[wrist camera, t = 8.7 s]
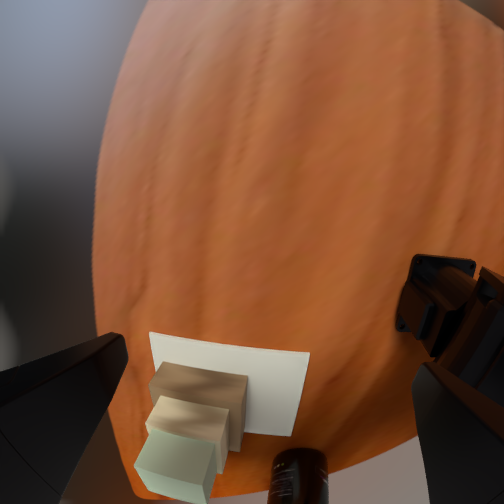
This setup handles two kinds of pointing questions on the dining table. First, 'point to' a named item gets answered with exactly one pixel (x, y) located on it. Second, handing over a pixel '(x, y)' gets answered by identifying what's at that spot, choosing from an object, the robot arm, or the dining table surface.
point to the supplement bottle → (299, 478)
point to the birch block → (193, 424)
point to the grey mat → (246, 363)
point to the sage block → (177, 466)
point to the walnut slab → (205, 393)
